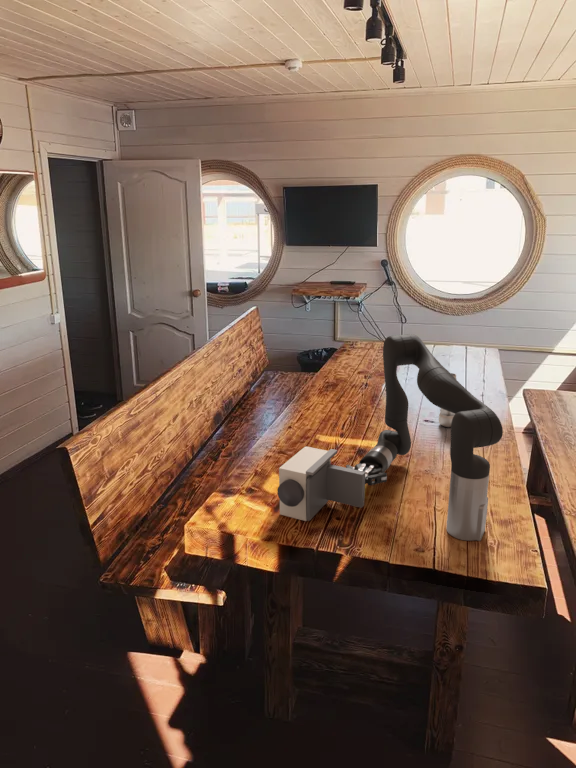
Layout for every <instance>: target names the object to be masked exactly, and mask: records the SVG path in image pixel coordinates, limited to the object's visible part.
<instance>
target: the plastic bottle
mask: <svg viewBox="0 0 576 768" xmlns="http://www.w3.org/2000/svg"><path fill="white" fill-rule="evenodd" d="M450 373H451V372H450ZM451 374H452V375H453V376H454V378H455V379H456V380H457V373H451ZM439 410H440V411H439V414H438V423H439V425H441V426H442V427H447V428H451V422H452V419H453V417H454V415H455V414H454V413H452V412H449V411H447V410H444V409H442V408H440V409H439Z"/></svg>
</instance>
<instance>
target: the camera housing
mask: <svg viewBox="0 0 576 768" xmlns="http://www.w3.org/2000/svg"><path fill="white" fill-rule="evenodd" d="M337 454H338V449H334V448H333V449H332V448H330V449H329V450H326V449H321V448H316V447H311V446H304V447H303V448H302V449H300V450H299V451H298V452H296V453H295V454H294V455H293V456H292V457H290V458H289V459H288V460H287V461H285V463H283V464H282V465H281V466H280V467H279V468H278V478H279V479H278V487H277V490H276V491H277V492H276V493H277V496H278V499H279V515H280V516H285V517H288V518H292V519H296V520H301V521H304V522H307V521H308V520H307V479H308V478H309V477H310V476H311V475H312V476H313V475H314V474H315V473H316V472H317V471H318V470H319V469H320V468H321V467H323V466H324V465H325V464H326V463H327V462H328V461H330V464H331V463H332V461H331V459H332V458H334V457H335V456H336V455H337ZM331 465H332V464H331Z"/></svg>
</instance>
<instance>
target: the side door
mask: <svg viewBox="0 0 576 768" xmlns="http://www.w3.org/2000/svg"><path fill="white" fill-rule="evenodd" d="M365 488H366V484H365V472H364V471H359V470H354V469H350V468H346V466H340V465H335V464H330V461H328V462H327V463H326V464H325V465H324V466H323V467H321V468H320V469H319V470H318V471H317V472H316V473H315V474H314V475H313V476H312V475H311V476H310V477H309V478H308V479H307V521H309V522H310V521H311V520H312V519H313V518H314V516H316V515H317V514H318V513H319V511H320V510H321V509H322V508H323V507H324V506H325V505H326V504H327V503H328V501H332V502H336V503H338V504H342V505H343V504H344V505H348V506H351V507H356V508H360V509H362V508H363V507H364V506H365V491H366V489H365Z"/></svg>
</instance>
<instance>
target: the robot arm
mask: <svg viewBox="0 0 576 768" xmlns="http://www.w3.org/2000/svg"><path fill="white" fill-rule="evenodd" d="M382 346H383V347H382V362H383V377H384V386H385V410H384V411H385V412H384V413H385V414H384V423H385V425H386V426H387V427H389V428H390V429H385V430H382V431H380V433H379V434H378V439H377V443H376V445H375V446H374V447H372V448H371V449H370V450H369V451H368V452H367V453H365V455H364V456H363V457H362V458H361V459H360V461H359V463H357V464H355V465H354V466H351V465H350V464H346V465H345V468H350V469H354V470H359V471H364V472H365V485H368V486H375V485H378V484H383V483H386V482H387V480H388V475H387V474H388V473H387V472H386V471H387V470H388V469H389V468H390V466H391V464H392V463H393V462H394V460H395V459H396V458H397V456H398V455H399V456H405V455H407V454H408V453H409V452H410V451H411V447H412V438H411V433H410V430H409V429H410V428H409V424H408V416H409V400H408V396H407V394H406V392H405V390H404V388H403V387H402V385H401V383H400V381H399V379H398V374H397V371H398V367H399V366H407V365H408V366H409V365H413V366H416V367H417V368H418V372H417V376H416V384H417V388H418V390H419V391H420V392H421V393H422V395H423V396H424V397H425V398H426V399H427V400H428V401H429V402H430V403H431V404H432V405H434V406H436V407H438V408H440V409H441V408H442V409H444V410H447V411H449V412H452V413H454V414H455V415H454V417H453V419H452V422H451V427H450V445H449V446H450V449H449V456H450V463H451V467H450V481H449V490H448V491H449V492H448V503H447V504H448V506H447V517H446V531H447V533H448V534H449V535H450V536H452V537H453V538H455V539H457V540H462V541H470V542H471V541H478V542H481V541H482V538H483V536H484V533H485V531H486V525H487V516H488V506H489V497H488V490H489V482H490V481H489V480H490V473H491V472H490V471H491V470H490V469H491V464H490V462H489V460H488V459H486V458H484V457H483V456H481V455H478V454H474V449H476V448H484V447H490V446H493V445H496V444H498V443H499V442H500V441H501V440H502V437H503V435H504V434H503V433H504V430H503V425H502V422H501V420H500V418H499V416H498V415H497V414H496V412H494V411H493V409H491V408H490V407H489V406H488V405H486V404H485V403H483V402H482V401H481V400H479V399H478V398H477V397H476V396H474V395H473V394H472V393H471V392H470V391H469V390H468V389H467V388H466V387H464V386H463V385H462V384H461V383H460V382H459V381H458V380H457V378H456V379H455V378H454V376H453V375H452V374H451V372H449V370H448V369H446V368H445V367H444V365H442V364H441V363H440V362H439V360H438V359H437V358H436V357H435V356H434V355H433V353H432V352H431V351H430V350H429V348H428V347H427V346H426V344H425V343H424V341H422V339H421V338H420V337H419V336H418V335H416V334H413V333H408V334H397V335H388V336H387V337H386V338H385V339H384V342H383V345H382ZM391 429H393V430H391Z"/></svg>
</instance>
